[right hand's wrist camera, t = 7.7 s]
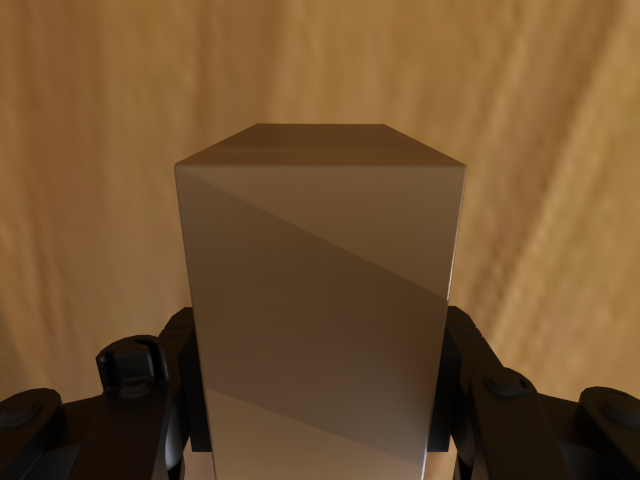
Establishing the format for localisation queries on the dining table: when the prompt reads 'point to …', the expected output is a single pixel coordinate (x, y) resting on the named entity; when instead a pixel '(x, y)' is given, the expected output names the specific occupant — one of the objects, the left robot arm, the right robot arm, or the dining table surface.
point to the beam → (319, 297)
